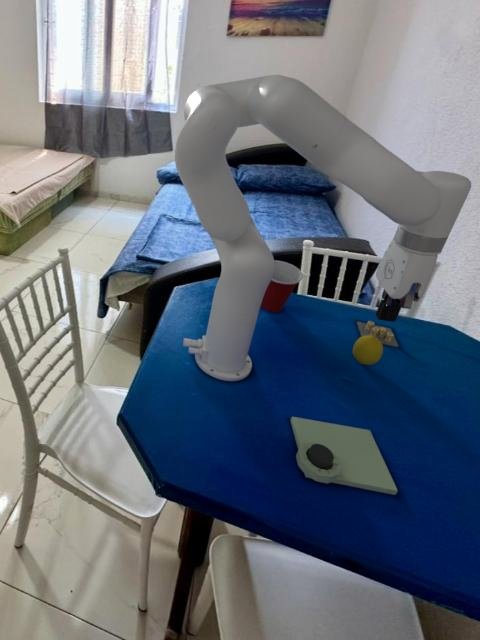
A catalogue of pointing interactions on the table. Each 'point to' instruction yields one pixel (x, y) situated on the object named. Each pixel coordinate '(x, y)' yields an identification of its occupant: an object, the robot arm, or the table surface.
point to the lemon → (368, 350)
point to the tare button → (320, 456)
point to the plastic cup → (281, 286)
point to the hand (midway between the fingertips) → (384, 318)
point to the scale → (343, 455)
